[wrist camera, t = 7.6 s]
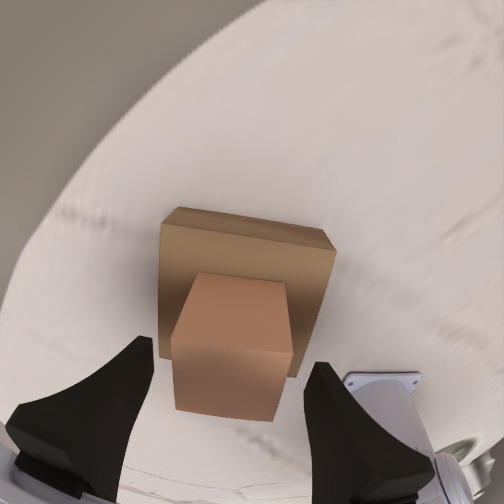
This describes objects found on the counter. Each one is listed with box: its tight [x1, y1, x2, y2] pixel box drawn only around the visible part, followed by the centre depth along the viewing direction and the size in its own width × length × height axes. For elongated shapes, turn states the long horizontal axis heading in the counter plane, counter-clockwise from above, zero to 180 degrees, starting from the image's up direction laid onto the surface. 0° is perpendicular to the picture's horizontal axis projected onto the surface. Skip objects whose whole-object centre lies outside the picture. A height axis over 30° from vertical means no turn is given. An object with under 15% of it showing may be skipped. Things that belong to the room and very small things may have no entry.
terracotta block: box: [171, 272, 293, 422], centre depth 14 cm, size 4×4×6 cm
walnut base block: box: [158, 207, 337, 378], centre depth 18 cm, size 9×9×4 cm
